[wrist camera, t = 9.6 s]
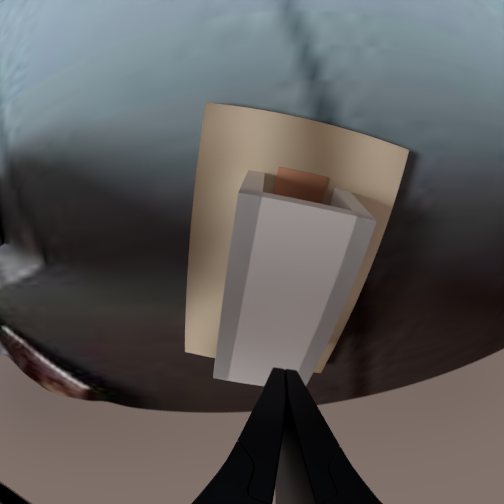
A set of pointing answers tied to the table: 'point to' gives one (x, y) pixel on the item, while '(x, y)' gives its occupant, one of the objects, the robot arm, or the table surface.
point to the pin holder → (279, 183)
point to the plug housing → (286, 280)
